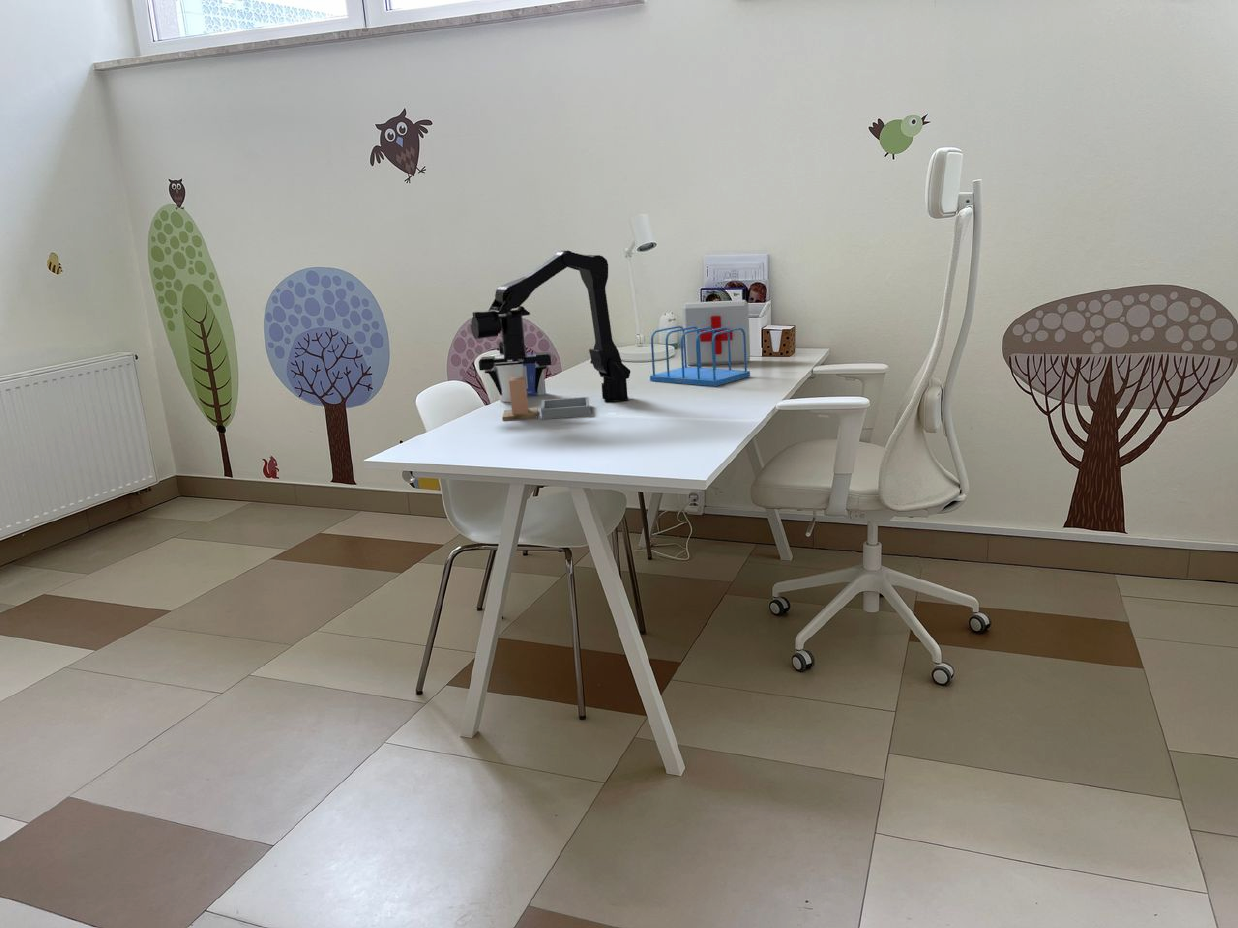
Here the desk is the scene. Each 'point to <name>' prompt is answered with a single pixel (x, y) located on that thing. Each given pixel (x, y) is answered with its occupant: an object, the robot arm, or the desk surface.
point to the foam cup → (507, 377)
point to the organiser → (565, 408)
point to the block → (518, 395)
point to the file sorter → (699, 362)
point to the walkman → (533, 379)
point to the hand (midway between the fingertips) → (518, 393)
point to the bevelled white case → (717, 317)
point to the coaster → (531, 414)
